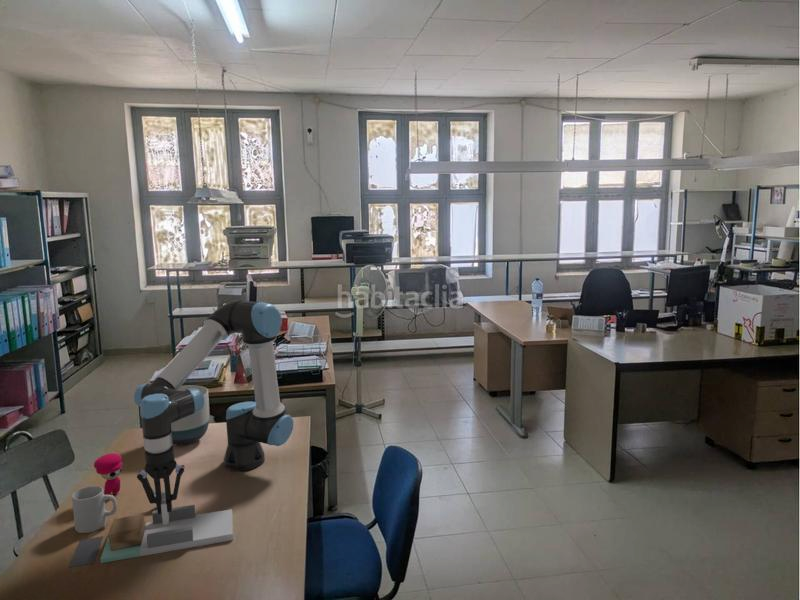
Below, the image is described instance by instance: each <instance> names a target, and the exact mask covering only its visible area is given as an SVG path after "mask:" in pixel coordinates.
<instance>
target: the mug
mask: <svg viewBox="0 0 800 600" xmlns="http://www.w3.org/2000/svg"><path fill="white" fill-rule="evenodd" d="M71 501H72V503H71V504H72V513H73V519H74V520H73V522H74V529H75V532H77V533H78V534H90V533H94V532H95V531H96V532H97V531H98V530H101V529H102V528H103V527H105V525H106V524H107V517H111V516H113V515H115V514H116V512H117V509H118V502H117V499H116V497H115V495H113V494H111V495H104V488H103V487H102V486H99V485H90V486H86V487H82V488H80V489H78V490H76V491H75V492H73V493H72V495H71ZM106 501H111V502H112V506H113V508H112V509H111V510H106V509H107V508H106Z"/></svg>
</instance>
